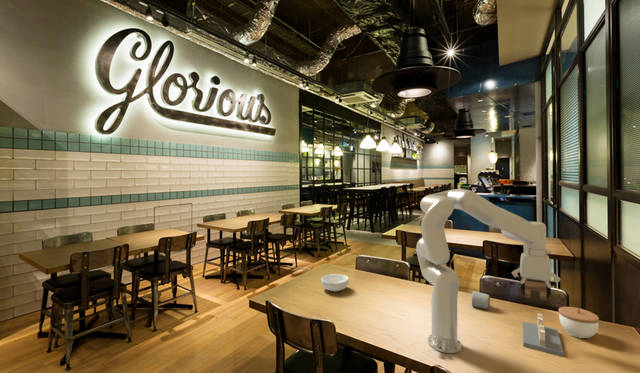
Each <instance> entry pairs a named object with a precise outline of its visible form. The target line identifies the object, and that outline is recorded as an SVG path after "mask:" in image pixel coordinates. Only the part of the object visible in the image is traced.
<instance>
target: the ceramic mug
mask: <svg viewBox="0 0 640 373" xmlns="http://www.w3.org/2000/svg"><path fill="white" fill-rule="evenodd" d="M471 294H472V295H471V307H475V308H480V309H485V310H488V309H489V310H490V307H491V306H490V305H491V304H490V303H491V296H490V295H489V294H487V293H484V292H479V291H476V290H472V293H471Z"/></svg>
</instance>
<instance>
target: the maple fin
mask: <svg viewBox="0 0 640 373" xmlns="http://www.w3.org/2000/svg"><path fill="white" fill-rule="evenodd" d="M536 315H537V321H536V322H537V325H538V334H539V342H540V346H544V347H545V329H544V319H543V318H544V316H543V314H542V313H537V314H536Z"/></svg>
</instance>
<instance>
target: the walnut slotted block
mask: <svg viewBox="0 0 640 373" xmlns="http://www.w3.org/2000/svg"><path fill="white" fill-rule="evenodd" d="M531 291H536V292H539V298H540V300H541V301H544V302H545V301H546V302H547V290H546V283H545V281H540V280H532V279H526V280H525V294H524V297H525V298H527V299H532V292H531Z"/></svg>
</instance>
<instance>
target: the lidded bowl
mask: <svg viewBox="0 0 640 373" xmlns="http://www.w3.org/2000/svg"><path fill="white" fill-rule="evenodd" d="M558 318H559V319H558V320H559V322H560V325H561V326H562V328H563V329H564V330H565V331H566V333H567V335H569V336H572V337H574V338H577V337H578V339H581V338H589V337H590V338H592V337H593V336H595V335H596V333H597V332H598V330H599V321H600V317H599V316H598V315H597V314H595V313H594V312H592V311H589V310H586V309H583V308H580V307H573V306H562V307H561V306H560V307H559V308H558ZM590 338H589V339H590Z"/></svg>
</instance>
